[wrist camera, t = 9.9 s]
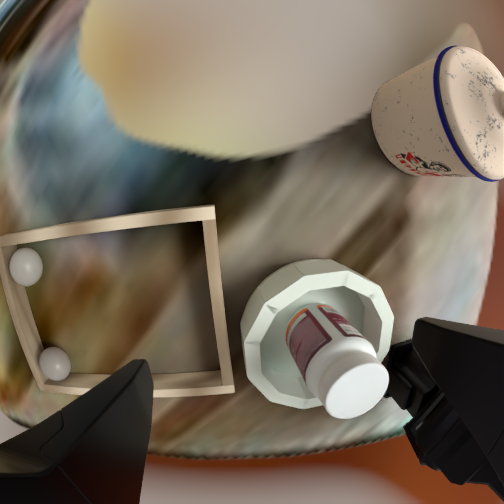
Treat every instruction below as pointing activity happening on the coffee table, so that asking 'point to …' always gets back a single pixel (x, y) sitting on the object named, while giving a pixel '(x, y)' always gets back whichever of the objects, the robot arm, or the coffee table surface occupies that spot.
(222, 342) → the tray
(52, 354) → the pebble
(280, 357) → the bowl
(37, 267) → the pebble
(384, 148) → the teacup with lid
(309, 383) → the pill bottle
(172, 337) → the coffee table surface
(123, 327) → the coffee table surface
